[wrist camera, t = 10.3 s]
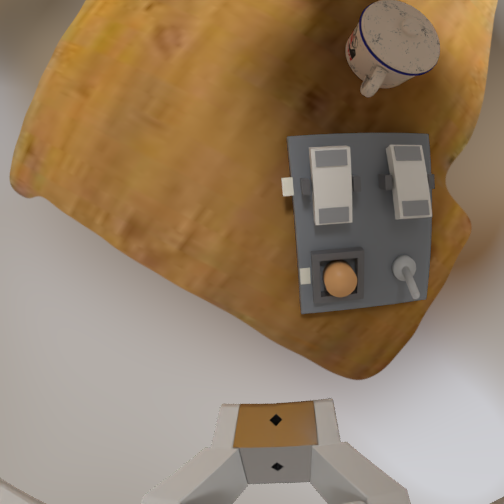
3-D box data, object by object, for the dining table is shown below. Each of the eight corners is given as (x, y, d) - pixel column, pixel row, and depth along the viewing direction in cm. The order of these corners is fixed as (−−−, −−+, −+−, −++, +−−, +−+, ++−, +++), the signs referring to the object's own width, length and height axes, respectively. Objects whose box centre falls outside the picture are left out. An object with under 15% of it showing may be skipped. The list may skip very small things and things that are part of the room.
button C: (321, 261, 35) (325, 268, 33) (352, 258, 35) (357, 265, 32) (322, 289, 36) (325, 298, 34) (352, 286, 36) (356, 295, 33)
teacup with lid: (358, 16, 29) (385, -27, 18) (418, 53, 29) (462, 25, 18) (320, 84, 32) (339, 54, 21) (385, 122, 33) (427, 111, 22)
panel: (276, 139, 35) (277, 133, 27) (418, 135, 33) (449, 131, 25) (291, 303, 41) (294, 336, 33) (417, 290, 39) (442, 317, 31)
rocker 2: (385, 148, 31) (390, 144, 29) (416, 148, 31) (422, 144, 29) (395, 219, 31) (400, 218, 29) (426, 217, 31) (432, 216, 29)
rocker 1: (308, 147, 30) (310, 149, 29) (346, 145, 30) (350, 147, 28) (313, 220, 34) (315, 225, 32) (349, 217, 33) (352, 223, 32)
